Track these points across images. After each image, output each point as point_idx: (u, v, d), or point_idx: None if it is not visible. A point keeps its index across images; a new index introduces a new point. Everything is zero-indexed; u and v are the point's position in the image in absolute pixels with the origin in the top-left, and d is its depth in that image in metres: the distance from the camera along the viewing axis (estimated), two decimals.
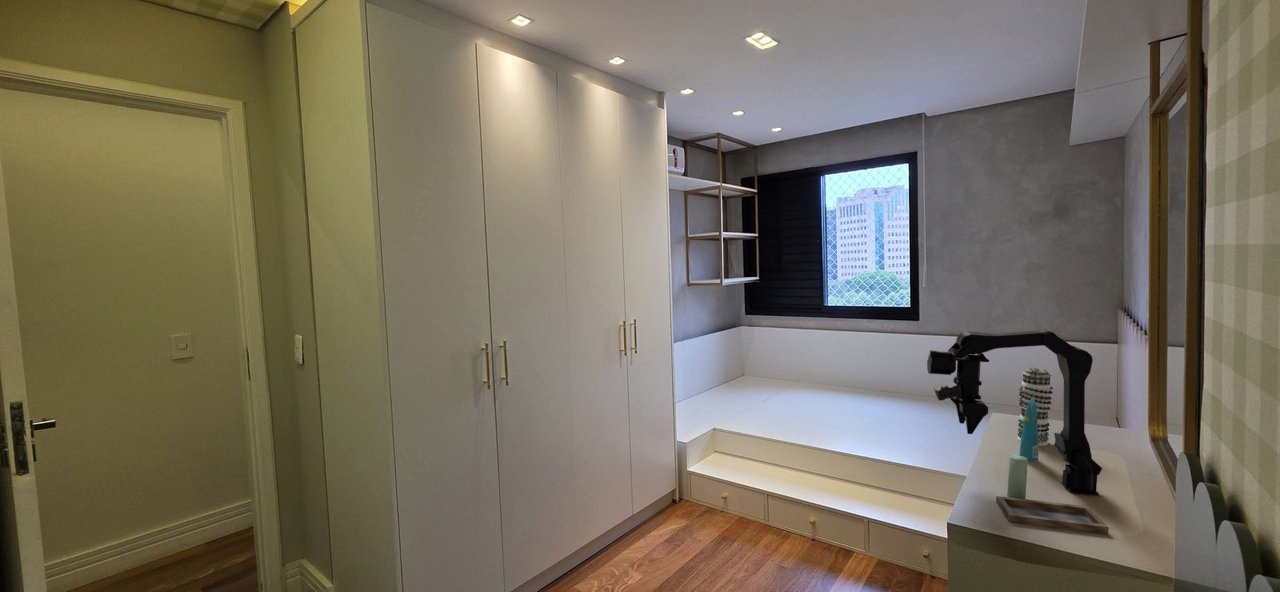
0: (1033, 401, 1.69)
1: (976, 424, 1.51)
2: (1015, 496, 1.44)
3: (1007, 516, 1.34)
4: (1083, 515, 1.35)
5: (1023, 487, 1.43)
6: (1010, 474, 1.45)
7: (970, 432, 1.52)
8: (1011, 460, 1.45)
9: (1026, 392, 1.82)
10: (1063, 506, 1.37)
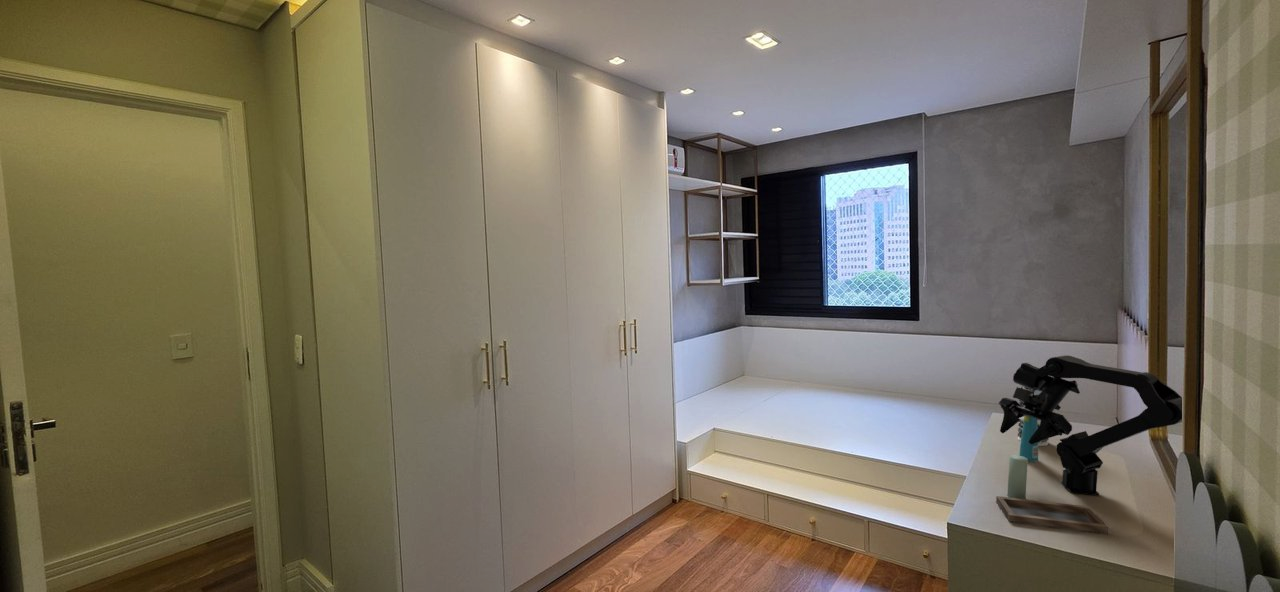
0: None
1: (1043, 438, 1.47)
2: (1015, 496, 1.44)
3: (1007, 516, 1.34)
4: (1083, 515, 1.35)
5: (1023, 487, 1.43)
6: (1010, 474, 1.45)
7: (1031, 442, 1.48)
8: (1011, 460, 1.45)
9: None
10: (1063, 506, 1.37)
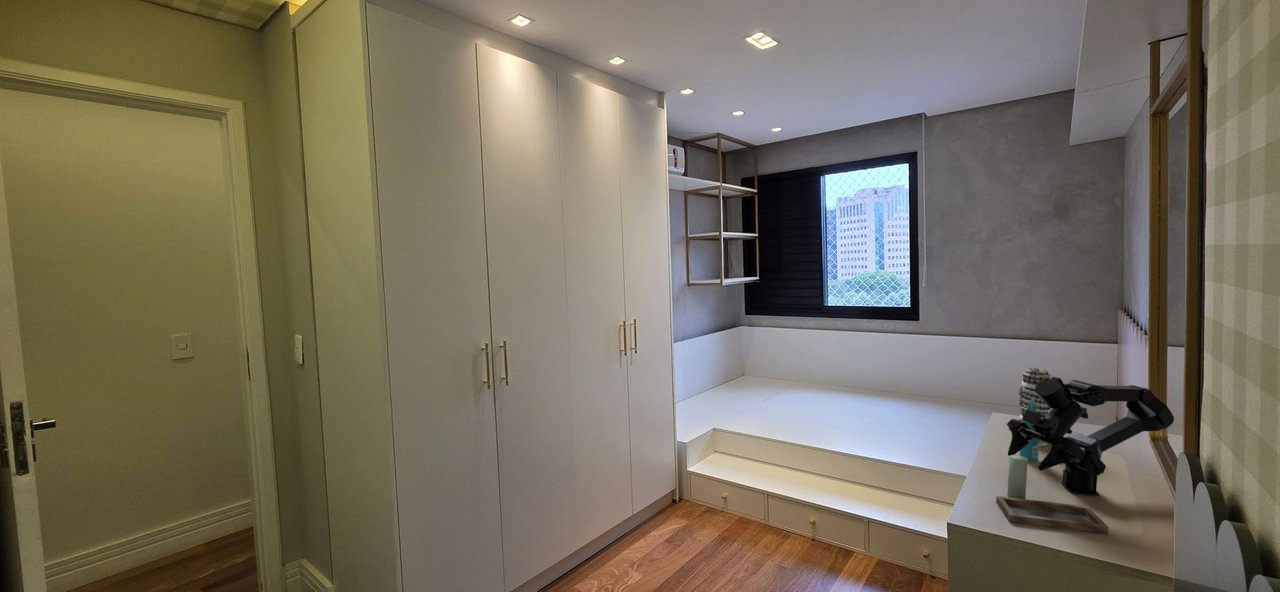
0: (1033, 401, 1.69)
1: (1053, 464, 1.40)
2: (1015, 496, 1.44)
3: (1007, 516, 1.34)
4: (1083, 515, 1.35)
5: (1023, 487, 1.43)
6: (1010, 474, 1.45)
7: (1040, 468, 1.40)
8: (1011, 460, 1.45)
9: (1026, 392, 1.82)
10: (1063, 506, 1.37)
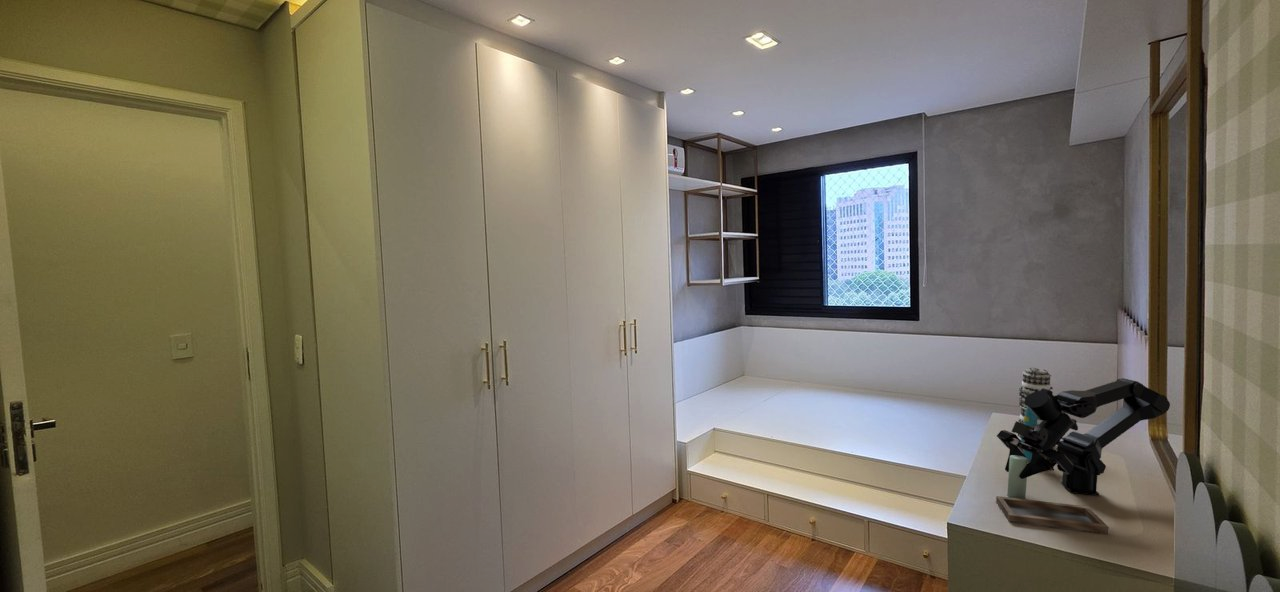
0: None
1: (1034, 473, 1.42)
2: (1015, 496, 1.44)
3: (1007, 516, 1.34)
4: (1083, 515, 1.35)
5: (1023, 487, 1.43)
6: (1010, 474, 1.45)
7: (1022, 476, 1.43)
8: (1011, 460, 1.45)
9: (1026, 392, 1.82)
10: (1063, 506, 1.37)
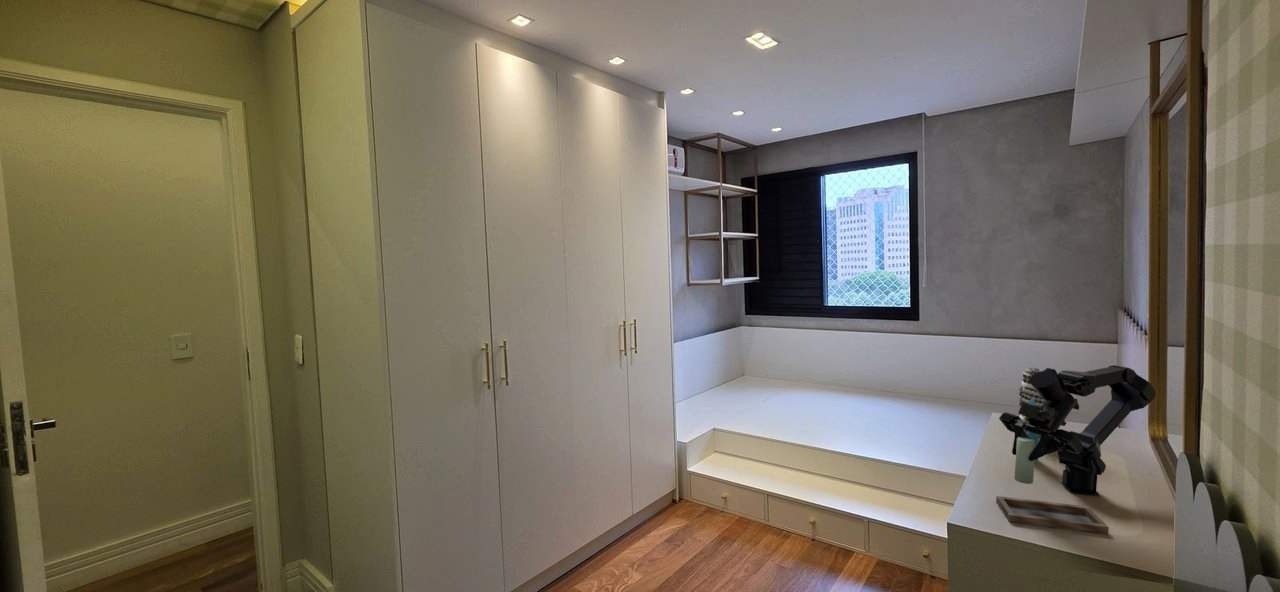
0: (1033, 401, 1.69)
1: (1043, 454, 1.39)
2: (1024, 479, 1.40)
3: (1007, 516, 1.34)
4: (1083, 515, 1.35)
5: (1031, 470, 1.40)
6: (1018, 457, 1.41)
7: (1031, 459, 1.39)
8: (1019, 442, 1.41)
9: (1026, 392, 1.82)
10: (1063, 506, 1.37)
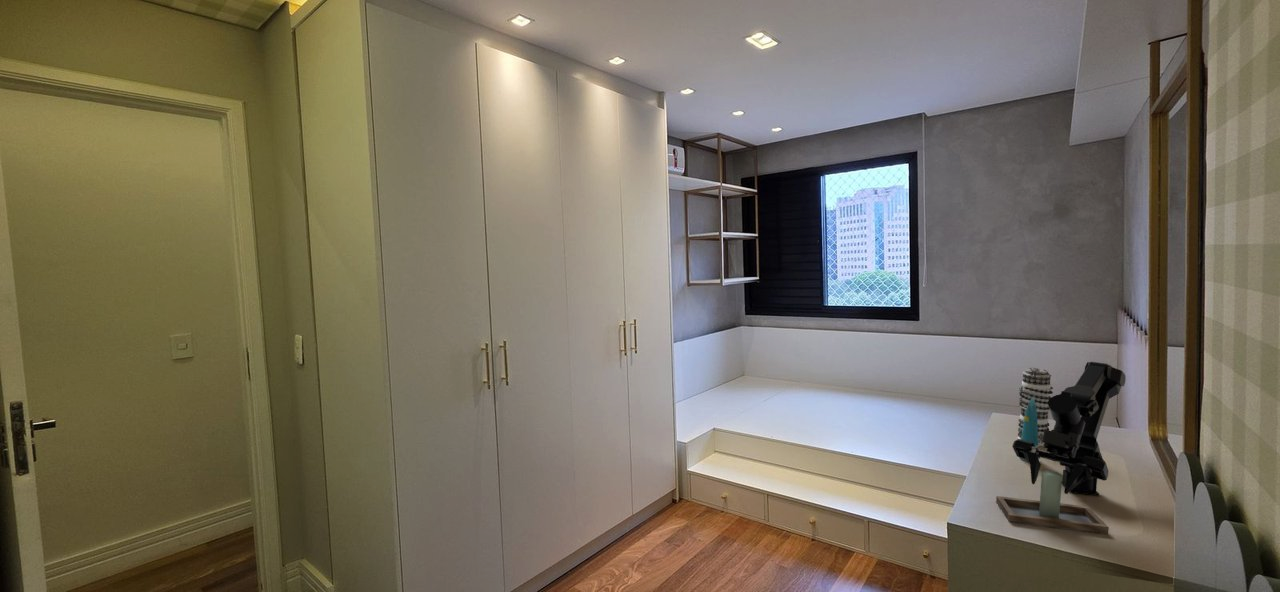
0: (1033, 401, 1.69)
1: (1075, 485, 1.32)
2: (1052, 516, 1.33)
3: (1007, 516, 1.34)
4: (1083, 515, 1.35)
5: (1059, 505, 1.33)
6: (1046, 492, 1.34)
7: (1066, 491, 1.31)
8: (1048, 477, 1.33)
9: (1026, 392, 1.82)
10: (1063, 506, 1.37)
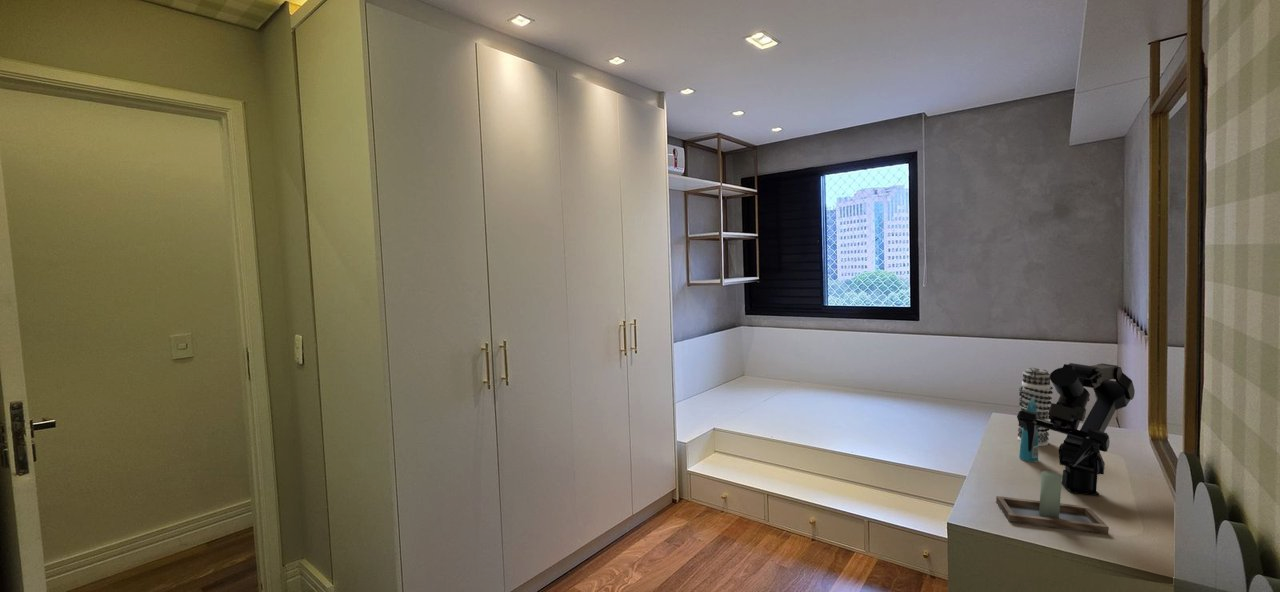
0: (1033, 401, 1.69)
1: (1083, 458, 1.35)
2: (1052, 516, 1.33)
3: (1007, 516, 1.34)
4: (1083, 515, 1.35)
5: (1059, 505, 1.33)
6: (1046, 493, 1.33)
7: (1074, 464, 1.34)
8: (1047, 478, 1.33)
9: (1026, 392, 1.82)
10: (1063, 506, 1.37)
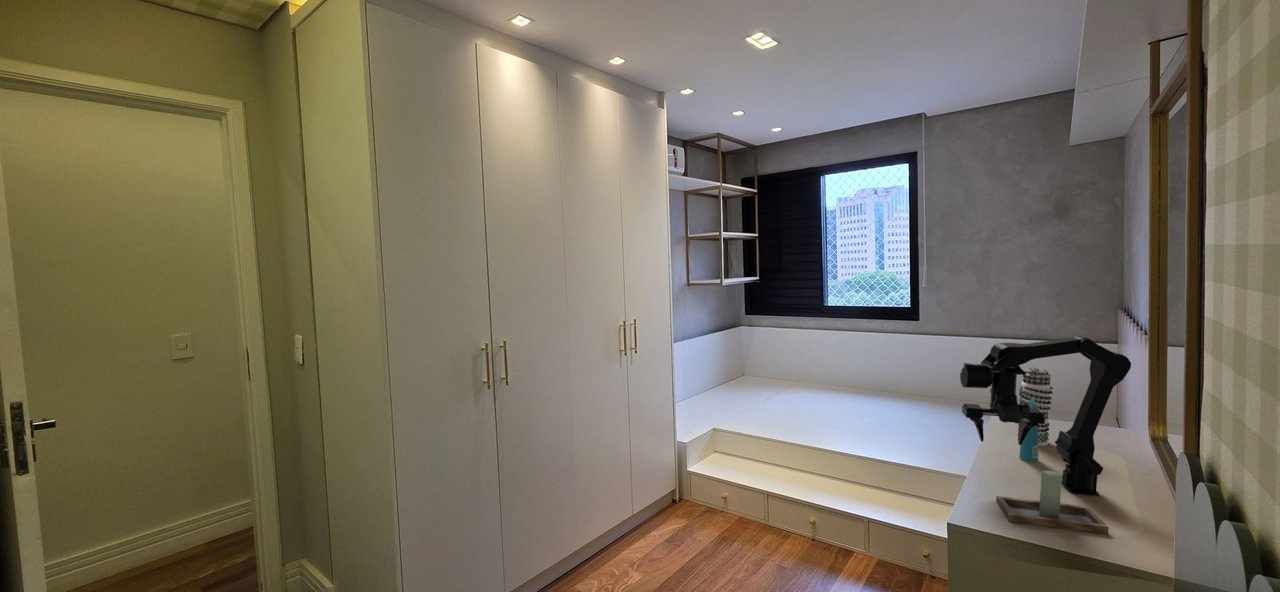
0: (1033, 401, 1.69)
1: None
2: (1052, 516, 1.33)
3: (1007, 516, 1.34)
4: (1083, 515, 1.35)
5: (1059, 505, 1.33)
6: (1046, 493, 1.33)
7: None
8: (1047, 478, 1.33)
9: (1026, 392, 1.82)
10: (1063, 506, 1.37)
